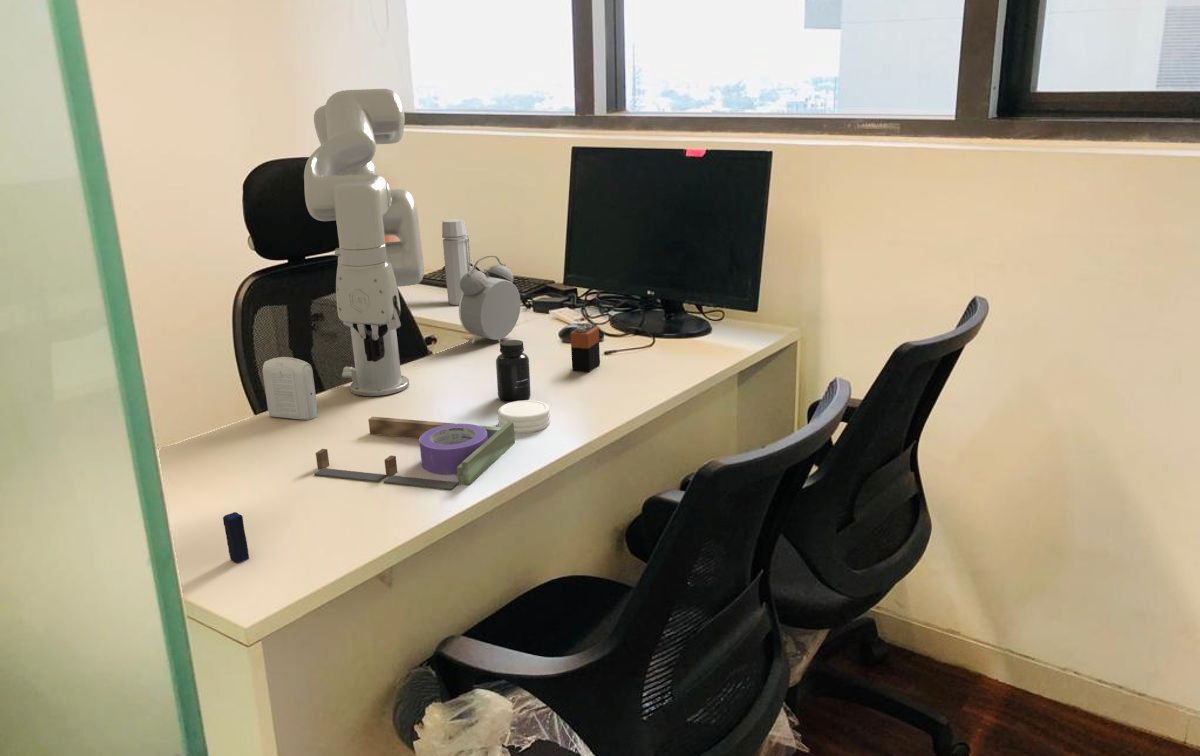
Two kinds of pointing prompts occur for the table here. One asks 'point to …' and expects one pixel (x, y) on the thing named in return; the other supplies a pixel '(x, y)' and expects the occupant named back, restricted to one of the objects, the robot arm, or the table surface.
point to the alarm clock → (489, 302)
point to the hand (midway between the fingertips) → (375, 358)
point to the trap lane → (471, 466)
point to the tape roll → (449, 446)
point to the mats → (392, 479)
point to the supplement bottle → (513, 372)
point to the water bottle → (455, 256)
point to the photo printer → (290, 388)
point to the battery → (585, 348)
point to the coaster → (525, 415)
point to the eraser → (236, 537)
